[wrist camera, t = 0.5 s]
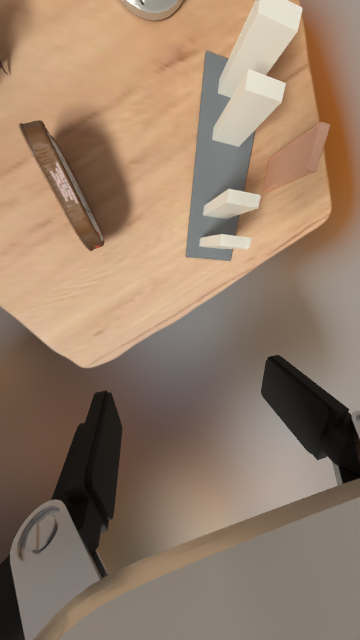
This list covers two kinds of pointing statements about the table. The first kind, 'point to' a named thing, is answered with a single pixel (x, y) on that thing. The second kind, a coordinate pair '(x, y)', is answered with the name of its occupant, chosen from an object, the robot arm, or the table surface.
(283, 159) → the tile
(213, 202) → the tile
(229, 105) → the tile
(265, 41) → the tile
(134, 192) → the table surface
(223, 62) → the slate mat
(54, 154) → the tin
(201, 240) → the tile
